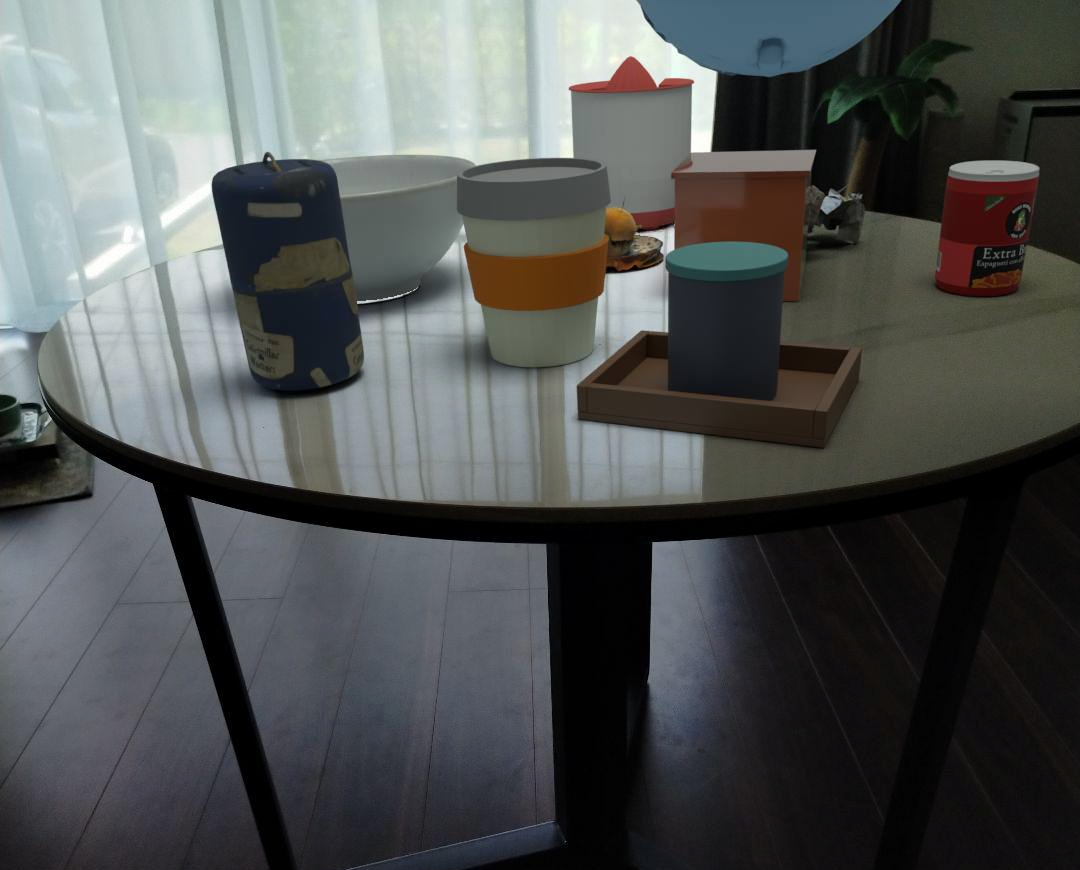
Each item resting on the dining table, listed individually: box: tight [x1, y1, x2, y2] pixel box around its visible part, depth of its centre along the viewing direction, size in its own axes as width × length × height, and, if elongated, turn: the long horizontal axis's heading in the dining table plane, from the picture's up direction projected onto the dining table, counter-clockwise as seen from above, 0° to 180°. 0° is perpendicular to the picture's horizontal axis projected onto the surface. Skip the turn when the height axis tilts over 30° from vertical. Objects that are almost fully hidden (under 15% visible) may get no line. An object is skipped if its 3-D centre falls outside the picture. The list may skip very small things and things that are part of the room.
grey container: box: [664, 242, 788, 401], centre depth 71 cm, size 8×8×10 cm
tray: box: [576, 329, 863, 449], centre depth 73 cm, size 18×14×3 cm
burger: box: [604, 198, 665, 272], centre depth 112 cm, size 12×12×8 cm
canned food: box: [934, 159, 1040, 297], centre depth 94 cm, size 8×8×11 cm
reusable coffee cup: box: [457, 157, 611, 368], centre depth 83 cm, size 13×12×15 cm
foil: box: [807, 184, 866, 245], centre depth 112 cm, size 12×11×15 cm
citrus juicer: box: [568, 55, 695, 231], centre depth 128 cm, size 16×17×20 cm
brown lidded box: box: [671, 149, 817, 302], centre depth 99 cm, size 13×13×12 cm
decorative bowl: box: [318, 154, 477, 301], centre depth 106 cm, size 27×27×12 cm
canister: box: [211, 151, 365, 392], centre depth 79 cm, size 10×10×18 cm
